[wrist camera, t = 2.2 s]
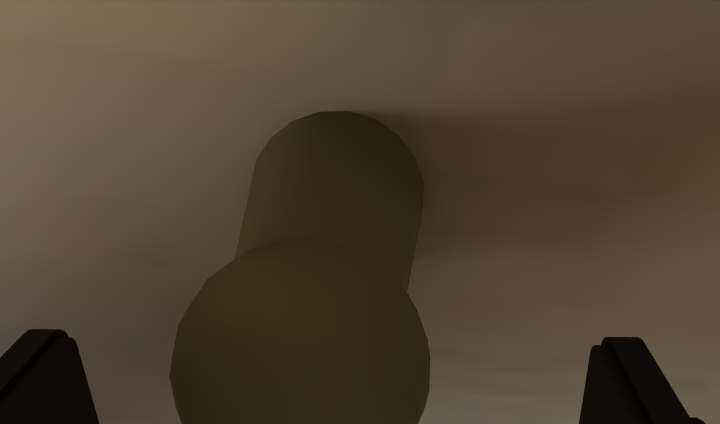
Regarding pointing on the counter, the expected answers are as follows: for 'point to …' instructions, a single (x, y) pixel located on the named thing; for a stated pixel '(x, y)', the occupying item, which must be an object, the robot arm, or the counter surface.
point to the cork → (314, 289)
